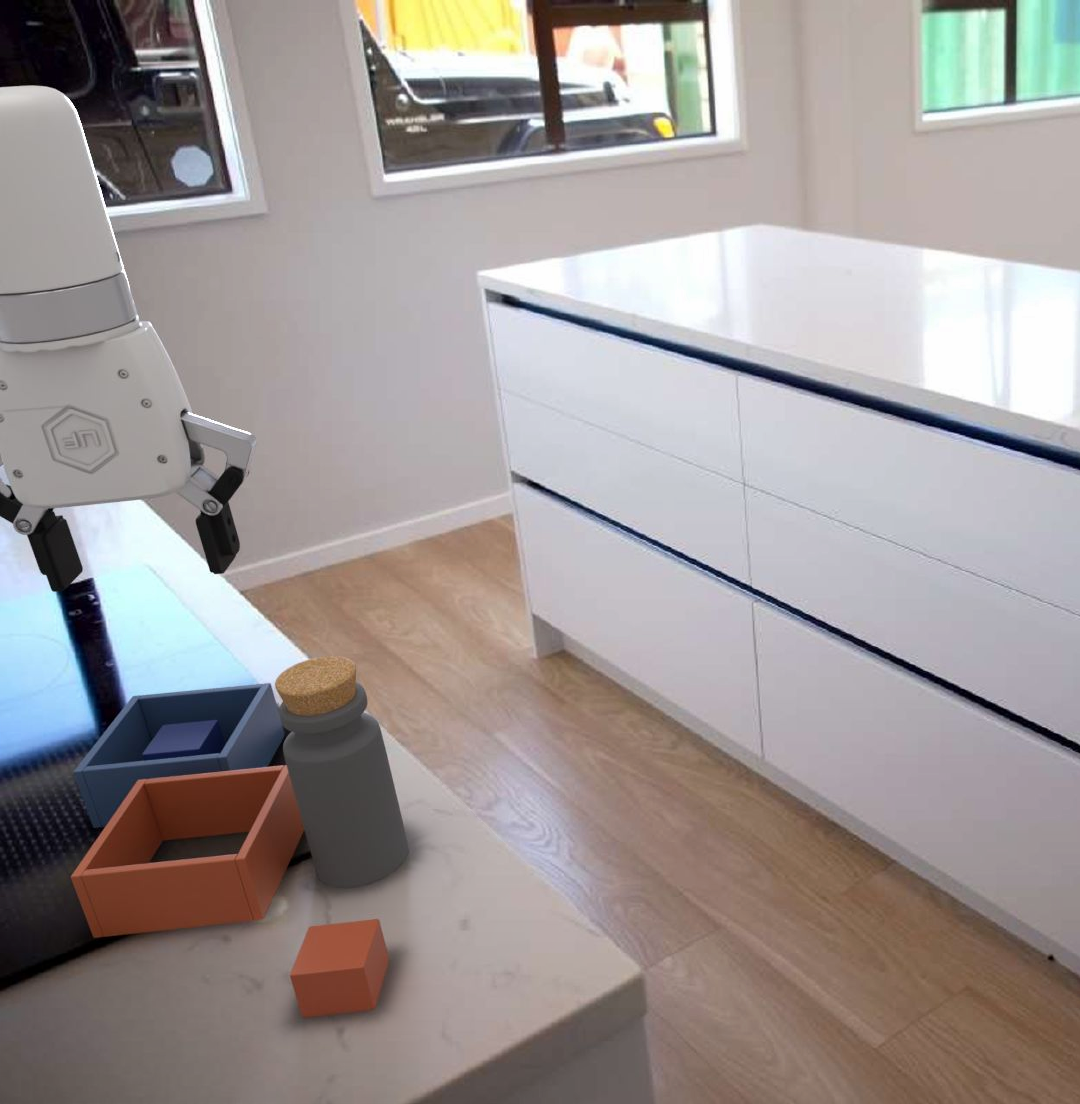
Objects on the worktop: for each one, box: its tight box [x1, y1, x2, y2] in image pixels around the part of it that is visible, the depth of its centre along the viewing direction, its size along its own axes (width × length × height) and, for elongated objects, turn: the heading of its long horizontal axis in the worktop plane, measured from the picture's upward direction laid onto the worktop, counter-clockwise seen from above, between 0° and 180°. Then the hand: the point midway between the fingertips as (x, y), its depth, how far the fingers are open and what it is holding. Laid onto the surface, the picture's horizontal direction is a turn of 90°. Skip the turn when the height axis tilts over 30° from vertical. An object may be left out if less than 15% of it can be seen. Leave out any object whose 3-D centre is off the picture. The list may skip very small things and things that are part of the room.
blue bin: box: [73, 682, 286, 829], centre depth 92 cm, size 10×10×6 cm
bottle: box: [274, 655, 410, 889], centre depth 80 cm, size 6×6×15 cm
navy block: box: [142, 720, 226, 761], centre depth 92 cm, size 4×4×4 cm
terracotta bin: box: [70, 764, 305, 939], centre depth 81 cm, size 10×10×6 cm
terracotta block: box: [289, 918, 390, 1018], centre depth 72 cm, size 4×4×4 cm
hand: (147, 573), depth 81 cm, fingers open, 9 cm apart
